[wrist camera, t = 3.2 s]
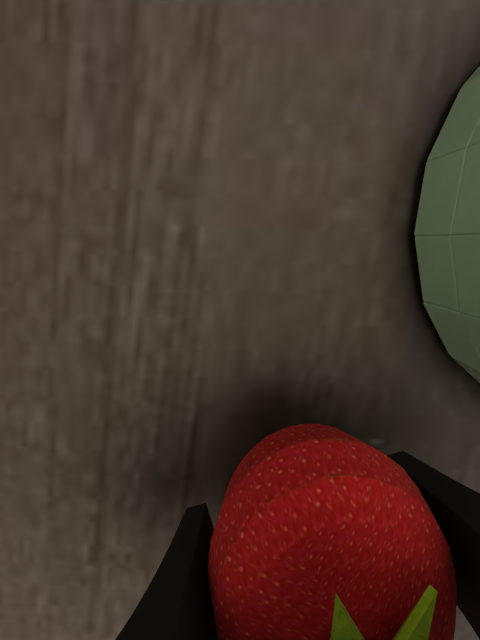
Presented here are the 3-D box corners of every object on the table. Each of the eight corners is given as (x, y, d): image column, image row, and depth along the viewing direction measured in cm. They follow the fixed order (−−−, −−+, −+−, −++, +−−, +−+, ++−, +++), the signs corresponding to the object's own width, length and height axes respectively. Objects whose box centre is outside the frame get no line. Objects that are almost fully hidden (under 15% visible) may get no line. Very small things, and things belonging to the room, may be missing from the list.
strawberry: (354, 354, 14) (696, 632, 4) (360, 522, 15) (613, 1011, 6) (198, 373, 13) (157, 721, 4) (222, 543, 15) (236, 1093, 5)
